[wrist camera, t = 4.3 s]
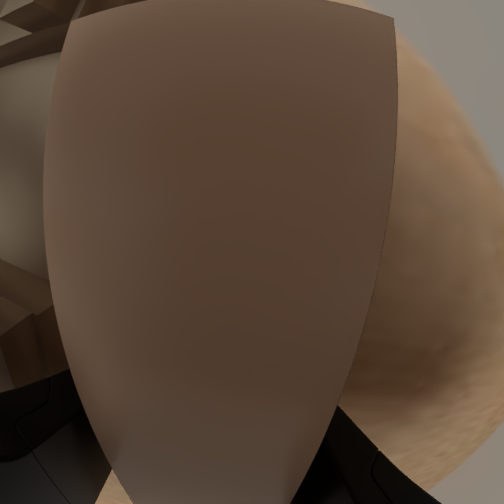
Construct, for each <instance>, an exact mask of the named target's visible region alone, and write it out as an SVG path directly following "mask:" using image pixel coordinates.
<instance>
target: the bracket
mask: <svg viewBox="0 0 504 504" xmlns="http://www.w3.org/2000/svg"><path fill="white" fill-rule="evenodd" d="M141 1H146V0H0V392H3V391H7V390H11V389H14V388H18V387H21V386H25V385H27V384H30V383H33V382H36V381H39V380H41V379H44V378H46V377H51V376H52V375H54V374H57V373H59V372H62V371H64V370H67V369H69V364H68V361H67V358H66V354H65V351H64V347H63V343H62V339H61V335H60V331H59V327H58V323H57V318H56V314H55V309H54V304H53V298H52V293H51V287H50V280H49V273H48V266H47V257H46V247H45V235H44V218H43V169H44V152H45V140H46V131H47V122H48V115H49V108H50V102H51V96H52V91H53V86H54V81H55V77H56V72H57V68H58V64H59V60H60V56H61V52H62V49H63V45H64V42H65V39H66V35H67V32H68V29H69V26H70V23H71V21H73V20H76V19H79V18H82V17H85V16H88V15H91V14H94V13H97V12H101V11H104V10H108V9H111V8H115V7H119V6H123V5H127V4H132V3H136V2H141Z"/></svg>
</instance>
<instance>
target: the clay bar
mask: <svg viewBox="0 0 504 504" xmlns="http://www.w3.org/2000/svg"><path fill="white" fill-rule="evenodd" d="M397 110H398V76H397V52H396V38H395V27H394V18H392V17H389V16H386V15H383V14H379V13H376V12H373V11H369V10H366V9H362V8H358V7H354V6H350V5H346V4H341V3H337V2H332V1H326V0H146V1H141V2H136V3H132V4H127V5H123V6H119V7H115V8H111V9H108V10H104V11H101V12H97V13H94V14H91V15H88V16H85V17H82V18H79V19H76V20H73V21H71V23H70V26H69V29H68V32H67V35H66V39H65V42H64V45H63V49H62V52H61V56H60V60H59V64H58V68H57V72H56V77H55V81H54V86H53V91H52V96H51V102H50V108H49V115H48V122H47V131H46V140H45V152H44V169H43V218H44V235H45V247H46V257H47V266H48V273H49V280H50V287H51V293H52V298H53V304H54V309H55V314H56V318H57V323H58V327H59V331H60V335H61V339H62V343H63V347H64V351H65V354H66V358H67V361H68V364H69V368H70V371H71V374H72V377H73V380H74V383H75V386H76V389H77V391H78V394H79V397H80V400H81V402H82V405H83V407H84V410H85V412H86V415H87V417H88V419H89V422H90V424H91V426H92V429H93V431H94V433H95V435H96V437H97V440H98V442H99V444H100V446H101V448H102V450H103V452H104V454H105V456H106V458H107V460H108V462H109V463H110V465H111V467H112V469H113V471H114V473H115V474H116V476H117V478H118V480H119V481H120V483H121V485H122V486H123V488H124V490H125V491H126V493H127V494H128V496H129V497H130V499H131V501H132V502H133V504H290V503H291V501H292V499H293V497H294V496H295V494H296V492H297V490H298V488H299V486H300V485H301V483H302V481H303V479H304V477H305V475H306V473H307V471H308V469H309V467H310V465H311V463H312V461H313V459H314V457H315V455H316V453H317V451H318V449H319V447H320V444H321V442H322V440H323V438H324V436H325V433H326V431H327V429H328V426H329V424H330V422H331V419H332V417H333V414H334V412H335V409H336V407H337V404H338V402H339V399H340V397H341V394H342V391H343V389H344V386H345V383H346V380H347V378H348V375H349V372H350V369H351V366H352V363H353V360H354V357H355V354H356V351H357V348H358V344H359V341H360V338H361V335H362V331H363V328H364V324H365V321H366V317H367V313H368V310H369V306H370V302H371V298H372V294H373V290H374V286H375V281H376V277H377V272H378V268H379V263H380V258H381V253H382V248H383V243H384V237H385V232H386V226H387V219H388V213H389V206H390V199H391V191H392V183H393V173H394V163H395V151H396V136H397Z"/></svg>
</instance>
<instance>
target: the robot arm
mask: <svg viewBox="0 0 504 504" xmlns="http://www.w3.org/2000/svg"><path fill="white" fill-rule="evenodd" d="M111 470H112V467H111V465H110V463H109V462H108V460H107V458H106V456H105V454H104V452H103V450H102V448H101V446H100V444H99V442H98V440H97V437H96V435H95V433H94V431H93V429H92V426H91V424H90V422H89V419H88V417H87V415H86V412H85V410H84V407H83V405H82V402H81V400H80V397H79V394H78V391H77V389H76V386H75V383H74V380H73V377H72V374H71V371H70V368H69V369H67V370H64V371H62V372H59V373H57V374H54V375H52V376H51V377H46V378H44V379H41V380H39V381H36V382H33V383H30V384H27V385H25V386H21V387H18V388H14V389H11V390H7V391H3V392H0V504H95V502H96V500H97V498H98V496H99V494H100V492H101V490H102V488H103V486H104V484H105V482H106V480H107V478H108V476H109V474H110V472H111ZM290 504H441V503H440V502H438V501H437V500H436V499H434V498H433V497H432V496H431V495H429V494H428V493H427V492H426V491H424V490H423V489H422V488H420V487H419V486H418V485H417V484H415V483H414V482H413V481H412V480H411V479H409V478H408V477H407V476H406V475H405V474H403V473H402V472H401V471H400V470H399V469H398V468H397V467H396V466H395V465H394V464H393V463H392V462H391V461H390V460H389V459H388V458H387V457H386V456H385V455H384V454H383V453H382V452H381V451H378V448H377V447H376V446H375V445H374V444H373V443H372V442H371V441H370V440H369V438H368V437H367V436H366V435H365V434H364V433H363V432H362V431H361V430H360V429H359V428H358V427H357V426H356V424H355V423H354V422H353V421H352V420H351V419H350V418H349V417H348V416H347V415H346V414H345V412H344V411H343V410H342V409H341V408H340V407H339V406H338V405H337V407H336V409H335V412H334V414H333V417H332V419H331V422H330V424H329V426H328V429H327V431H326V433H325V436H324V438H323V440H322V442H321V444H320V447H319V449H318V451H317V453H316V455H315V457H314V459H313V461H312V463H311V465H310V467H309V469H308V471H307V473H306V475H305V477H304V479H303V481H302V483H301V485H300V486H299V488H298V490H297V492H296V494H295V496H294V497H293V499H292V501H291V503H290Z"/></svg>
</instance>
